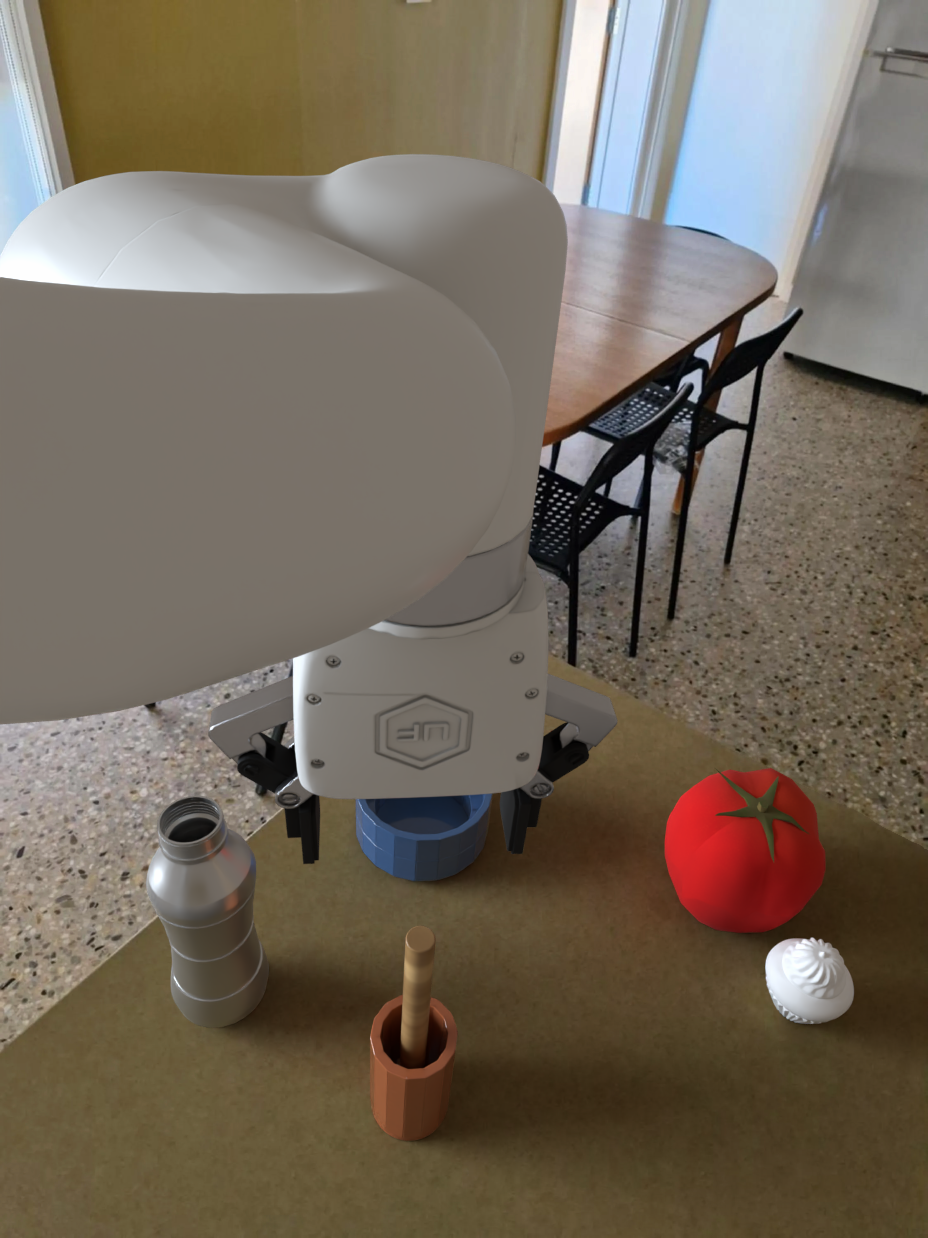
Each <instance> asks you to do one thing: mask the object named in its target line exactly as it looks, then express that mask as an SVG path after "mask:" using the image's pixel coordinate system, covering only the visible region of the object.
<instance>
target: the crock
mask: <svg viewBox="0 0 928 1238" xmlns="http://www.w3.org/2000/svg"><path fill="white" fill-rule="evenodd" d="M402 1003H403V994H400V995H398V996H396V997H395V998H393V999H390V1000H389V1001H387V1002H386V1003H385V1004H383V1006H382V1007H381V1008H380V1010H379V1011H378V1013H377V1014H376V1015H375V1016H374V1018H373V1021H372V1026H371V1031H370V1035H369V1099H370V1107H371V1112H372V1115H373V1118H374V1120H375V1122H376V1124H377V1125H378V1127H379V1128H380V1129H381V1130H382V1131H383V1132H384V1133H386V1134H387V1135H388V1136H390V1137H391V1138H394V1139H397V1140H400V1141H404V1142H405V1141H406V1142H414V1141H419V1140H422V1139H425V1138H426V1137H428V1136H430V1135H431V1134H433V1133H434V1132H435V1131H436V1130H437V1129H438V1128H439V1127H440V1126H441V1125H442V1123H443V1121H444V1120H445V1118H446V1115H447V1113H448V1110H449V1103H450V1102H449V1101H450V1098H451V1097H450V1096H451V1089H452V1081H453V1073H454V1067H455V1059H456V1052H457V1045H458V1037H459V1031H458V1027H457V1024H456V1022H455V1021H456V1020H455V1018H454V1015H453V1014H452V1012H451V1011H450V1010H449V1009H448V1008H447V1007H446V1005H444V1003H442V1001H441V1000H439V999H437V998H435V997H432V996H431V1000H430V1012H429V1023H428V1035H427V1046H426V1058H425V1068H418V1069H407V1068H404V1067H402V1066H399V1065H397V1059H400V1045H401V1024H402Z"/></svg>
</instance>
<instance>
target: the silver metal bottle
mask: <svg viewBox="0 0 928 1238" xmlns="http://www.w3.org/2000/svg"><path fill="white" fill-rule="evenodd" d="M156 830H157V831H156V832H157V835H158V846H159V847H158V848H157V850H156V851H155V853H154V855H153V856H152V858H151V861H150V863H149V866H148V870H147V874H146V881H145V887H146V894H147V896H148V898H149V901H150V904H151V906H152V908H153V909H154V911H155V914H156V916H157V917H158V919H159V920H160V923H161V924H162V926H163V928H164V931H165V934H166V936H167V939H168V942H169V945H170V953H171V968H170V992H171V997H172V999H173V1003H174V1004H175V1005H176V1007H177V1008H178V1010H179V1011H180V1013H181V1014H182V1015H183V1016H184V1018H185V1019H187V1020H188V1021H189V1022H190V1023H193V1024H194V1025H196V1026H199V1027H203V1028H208V1029H209V1028H210V1029H216V1028H223V1027H228V1026H231V1025H234V1024H236V1023H238V1022H239V1021H241V1020H244V1019H245V1018H246V1017H247V1016H249V1015H250V1014H252V1012H253V1011H255V1009H256V1008H257V1007H258V1006H259V1004H260V1003H261V1001H262V999H263V997H264V995H265V993H266V989H267V984H268V979H269V976H270V963H269V960H268V959H269V958H268V955H267V953H266V949H265V947H264V946H263V944H262V942H261V940H260V939H259V935H258V933H257V929H256V925H255V922H254V921H255V917H254V898H255V891H256V884H257V883H256V881H257V860H256V855H255V853H254V852H253V849H252V847H251V846H250V845H249V843H248V842H247V841H246V839H245V838H244V837H243V836H242V835H241V834H240V833H238V832H236V831H235V830H233V829H231V828H229V827H228V824H227V821H226V819H225V817H224V812H223V810H222V808H221V806H220V804H219V803H218V802H217V801H216V800H214V799H213V798H211V797H208V796H204V795H188V796H184V797H180V798H178V799H176V800H174V801H172V802H170V803H169V804H168V805H166V806H165V808H164V809H162V811H161V812H160V814H159V815H158V819H157V822H156Z"/></svg>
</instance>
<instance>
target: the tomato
mask: <svg viewBox="0 0 928 1238" xmlns="http://www.w3.org/2000/svg"><path fill="white" fill-rule="evenodd" d="M714 769H715V770H716V771H717V773H713V774H710V775H708V776H706V777H705V778H703V779H702V780H700V781H698V782H697V783H696V784H695V785H693V786H692V787H690V788H689V789H688V790H686V792H684V793H682V795H681V796H680V797H679V799H678V800H677V802H676V804H675V805H674V807H673V809H672V810H671V812H670V814H669V816H668V819H667V821H666V828H665V836H664V859H665V863H666V867H667V870H668V871H667V872H668V875H669V877H670V880H671V882H672V885H673V887H674V890H675V892H676V896H677V898H678V900H679V902H680V904H681V905H682V906H683V907H684V909H686V910H687V912H689V913H690V914H691V915H692V916H693V917H694V918H695V920H697V921H698V922H699V923H701V924H703V925H705V926H707V927H708V928H711V929H713V930H715V931H720V932H728V933H736V934H737V933H738V934H747V933H748V934H749V933H751V934H752V933H753V934H754V933H766V932H769V931H772V930H774V929H776V928H778V927H780V926H782V925H784V924H787V923H788V922H789V921H790V920H791V919H793V918H794V917H796V915H798V914H799V913H801V912H802V911H803V909H804V908H805V906H806V905H807V904H808V903H809V902H810V900H811V899H812V898H813V896H814V895H815V894H816V893H817V891H818V890H819V889H820V887H821V886H822V885H823V881H824V877H825V873H826V869H827V868H826V867H827V866H826V850H825V849H824V846H823V844H822V842H821V841H820V834H819V823H818V813H817V810H816V807H815V804H814V802H813V801H811V799H810V797H808V795H807V794H806V793H805V792H804V791H803V789H802V788H801V787H800V786H799V785H798V784H797V783H796V782H795V781H794V780H793V779H792V778H791V777H789V776H787V775H785V774H784V773H782V772H780V771H778V770H776V769H774V768H772V767H768V768H767V767H766V768H761V769H757V770H750V771H744V772H743V771H739V770H734V769H726V770H724V771H720V770H718V769H717V768H716V767H714Z"/></svg>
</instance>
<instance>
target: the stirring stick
mask: <svg viewBox="0 0 928 1238" xmlns="http://www.w3.org/2000/svg"><path fill="white" fill-rule="evenodd" d="M436 941H437V939H436V934H435V933H434V931H433V930H432V929H431V928H430V927H428V926H426V925H415V926H413V927H412V928H410V929H409V930H408V931H407V932H406V935H405V941H404V942H405V943H404V963H403V982H402V995H403V1003H402V1024H401V1045H400V1059H397V1065H399V1066H402V1067H404V1068H407V1069H418V1068H425V1058H426V1046H427V1035H428V1023H429V1012H430V1000H431V997H432V987H433V978H434V977H433V976H434V975H433V974H434V966H435V965H434V964H435V953H436Z"/></svg>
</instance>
